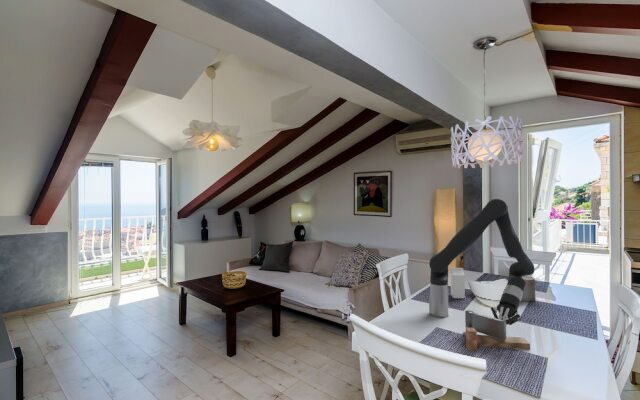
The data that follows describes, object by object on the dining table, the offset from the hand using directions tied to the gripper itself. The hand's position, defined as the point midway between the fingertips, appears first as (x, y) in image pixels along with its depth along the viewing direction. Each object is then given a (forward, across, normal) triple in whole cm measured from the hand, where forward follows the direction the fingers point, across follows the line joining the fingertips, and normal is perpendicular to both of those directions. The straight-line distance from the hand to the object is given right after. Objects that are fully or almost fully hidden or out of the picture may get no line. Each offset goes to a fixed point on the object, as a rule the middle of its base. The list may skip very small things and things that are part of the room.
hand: (499, 330), depth 139 cm
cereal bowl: (-44, -36, +53) cm, 78 cm away
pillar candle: (-49, -19, +58) cm, 78 cm away
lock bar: (+5, -6, +2) cm, 8 cm away
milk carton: (-28, -48, +37) cm, 67 cm away
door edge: (+5, -2, +3) cm, 6 cm away
